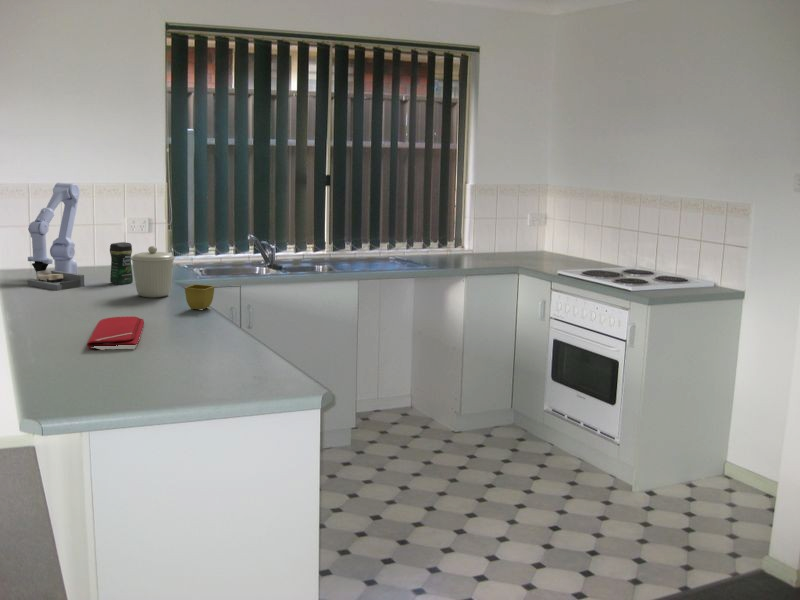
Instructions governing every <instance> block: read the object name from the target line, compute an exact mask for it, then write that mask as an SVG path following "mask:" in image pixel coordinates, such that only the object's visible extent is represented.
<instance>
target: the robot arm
mask: <svg viewBox="0 0 800 600" xmlns="http://www.w3.org/2000/svg"><path fill="white" fill-rule="evenodd" d="M80 193H81V190H80V188H79V185H78V184H77V183H65V182H56V183H55V184H54V187H53V188H52V196H51V197H50V199H49V202H48V203H47V205H46V207H43V208H41V209H40V211H39V214H38V215H37V216H36V218H35V220H34V221H32V222H31V223H30V224H29V225H28V232H29V234H30V238H31V246H32V256H27V262H33V263H31V265H32V267H33V269H34V270H35V273H36V272H37V271H44V270H47V267H48V266H49V265H53V260H54V270H55V271H61V272H68V273H74V274H78V264H77V261H76V260H75V258H74V257H75V254H76V251H75V250H76V249H75V248H76V247H75V243H74V242H73V241H72V234H73V229H74V224H75V219H76V214H77V213H76V212H77V208H78V204H79V203H78V202H79V197H80ZM61 202H62V203H63V204H64V206H63V211H62V218H61V220H60V221H61V222H60V225H59V226H60V227H59V230H58V231H59V232H58V235H57V236H58V237H57V238H56V239H54V240H53V241H52V245H51V246H50V249H49V254H50V257H51V258H49V257H48V255H47V239H46V238H47V234H48V232H49V227H50V223H51V222H52V221H53V220H52V219H53V218H54V216H55V212H54V211H55V210H56V208H57V207H58V206H59V205H60V203H61Z"/></svg>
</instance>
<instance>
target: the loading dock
mask: <svg viewBox="0 0 800 600" xmlns="http://www.w3.org/2000/svg"><path fill="white" fill-rule="evenodd" d="M51 274H63V278H62V281H60V282H59V281H57V279H54V280H53V281H52V282H51V283H49V282H47V281H44V282H43V281H38V280H37V279H27V280H26V286H28V287H29V286H31V287H36V288H41V289H48V290H54V291H62V290H63V291H64V290H69V289H74V288H81V287H85V275H84V274H79V273H77V274H74V273H68V272H61V271H55V269H53V270H52V269H51Z"/></svg>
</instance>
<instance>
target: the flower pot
mask: <svg viewBox="0 0 800 600" xmlns="http://www.w3.org/2000/svg"><path fill="white" fill-rule="evenodd" d="M214 292H215V285H210V284H209V285H208V284H198V283H197V284H192V285H189V286H186V287H184V293H185V299H186V300H185V301H186V303H187V305H188V307H189V308H190V309H191V310H193V309H205V308H207V307H209V308H210V306H211V305H212V302H213V299H214V294H215V293H214ZM207 309H208V308H207ZM205 310H206V309H205Z"/></svg>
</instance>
